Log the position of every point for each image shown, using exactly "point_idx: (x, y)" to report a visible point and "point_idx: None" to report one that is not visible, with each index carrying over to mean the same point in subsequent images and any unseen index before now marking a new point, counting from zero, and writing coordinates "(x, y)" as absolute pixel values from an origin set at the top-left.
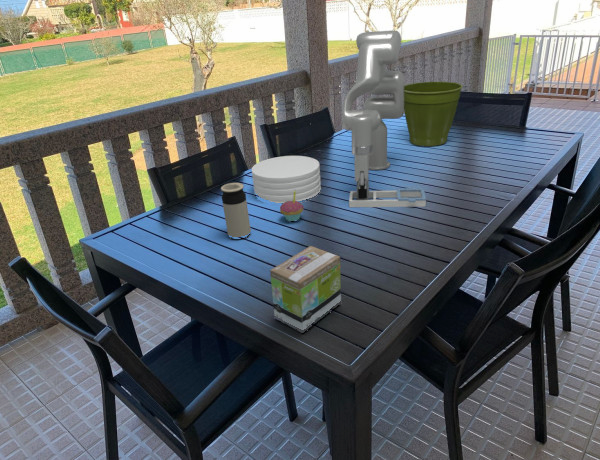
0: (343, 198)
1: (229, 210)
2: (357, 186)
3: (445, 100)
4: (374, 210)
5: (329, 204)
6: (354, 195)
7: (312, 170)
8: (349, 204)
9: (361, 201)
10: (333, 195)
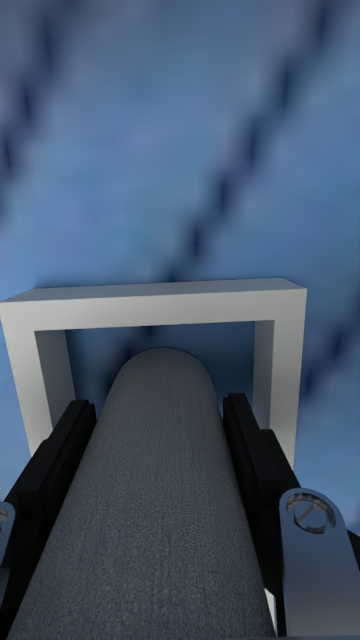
0: (251, 205)
1: None
2: (86, 484)
3: None
4: (6, 479)
5: (79, 50)
6: (263, 324)
7: None
8: (19, 296)
9: (27, 422)
10: (351, 67)
